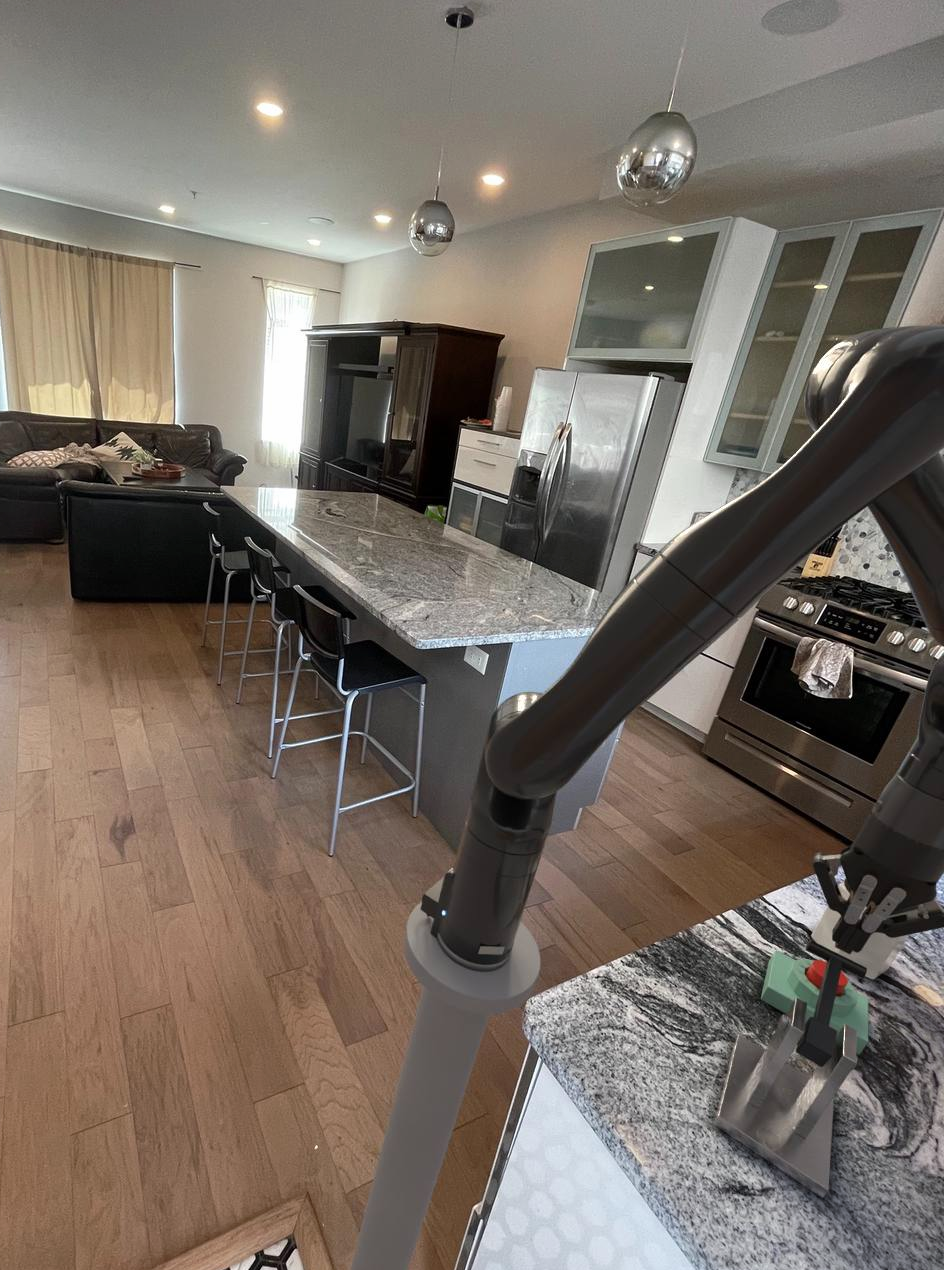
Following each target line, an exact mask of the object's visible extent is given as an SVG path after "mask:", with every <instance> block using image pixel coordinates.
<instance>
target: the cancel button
mask: <svg viewBox="0 0 944 1270" xmlns="http://www.w3.org/2000/svg"><path fill="white" fill-rule="evenodd" d="M826 963H827V961H826V960H822V959H816V960H814V961H813V963H812V964H811V966H810V968H809V970H808V971H807V974H806V975H807V978H808V980H809V981H810V982H811V983H812V984H813V985H814V986H815V987H817V988H818V989H819V990H820V988H821V984H822V979H823V975H824V971H825V967H826ZM848 981H849V980H848V977H847V976H846V974H845V973H844V972H843V971H842V970H841V974H840V978H839V983H838V987H837V992H836V996H839V995H841V993H842V992H843V990H844V988H845V987H846V985H847V983H848Z"/></svg>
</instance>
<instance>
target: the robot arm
mask: <svg viewBox="0 0 944 1270" xmlns="http://www.w3.org/2000/svg"><path fill="white" fill-rule="evenodd" d="M803 398H804V401H803V402H804V403H803V406H804V410H805V411H804V412H805V415H806V417H805V418H806V420H807V422H808V424H809V426H810V428H811V429H812V431H813V432H814V433H813V434H812V435H811V436H810V437H809V438H808V439H807V440H806V442H805V443H804V444H803V445H801V447H800V448H798V450H797V451H796V452H794V454H793V455H792V456H791V457H790V458H789V459H788V460H786V461H785V463H784V464H782V465H781V466H780V467H779V468H778V469H777V470H775V471H774V472H772V473H771V474H770V475H769V476H768V477H766V478H765V479H763V480H762V481H760V482H759V483H758V484H757V485H755V486H753V487H752V488H750V489H749V490H747V491H745V492H744V493H742V494H740V495H738V496H737V497H735V498H733V499H732V500H730V501H729V502H727V503H725V504H723V505H722V506H720V507H718V508H717V509H715V510H713V511H711V512H710V513H708V514H706V515H704V516H703V517H701V518H700V519H698V520H697V521H694V522H693V523H692V524H690V525H689V526H687V527H685V528H684V529H683V530H681V531H680V532H679V533H678V534H675V536H673V538H671V539H670V540H669V541H667V543H666V544H664V545H663V546H662V547H661V549H659V551H658V552H657V553H656V554H654V556H653V557H651V559H650V560H649V561H648V562H647V563H646V564H645V565H644V566H643V567H642V568H641V569H640V570H639V571H638V572H637V573H636V574H635V575H634V576H633V577H632V578H631V579H630V580H629V581H628V582H627V584H626V585H624V588H622V589H621V590H620V592H619V593H618V595H616V596H615V598H614V599H613V601H612V602H611V604H610V605H609V606H608V608H607V609H606V611H605V612H604V614H603V615H602V617H601V618H600V619H599V622H598V623H597V625H596V626H595V627H594V629H593V631H592V632H591V634H590V636H589V637H588V638H587V640H586V641H585V644H584V645H583V646H582V648H581V650H580V651H579V652H578V655H577V656H576V657H575V659H574V660H573V661H572V663H571V664H570V665H569V667H567V669H566V670H565V671H564V672H563V674H562V675H561V676H560V677H558V679H557V680H556V681H555V682H554V683H553V684H552V685H551V686H549V687H548V688H547V689H546V690H545V691H544V692H539V691H538V692H537V691H523V692H519V693H516V694H514V695H511V696H510V697H508V698H506V699H505V700H503V701H502V702H501V703H500V704H499V705H498V706H497V708H496V709H495V711H494V712H493V713H492V715H491V718H490V721H489V724H488V727H487V731H486V736H485V740H484V743H483V747H482V751H481V755H480V760H479V763H478V767H477V771H476V776H475V779H474V782H473V787H472V791H471V794H470V799H469V803H468V807H467V813H466V817H465V821H464V825H463V829H462V832H461V836H460V840H459V844H458V848H457V852H456V856H455V859H454V863H453V866H452V867H451V868H450V869H448V870H447V871H446V872H445V874H444V875H443V876H442V877H441V878H439V880H438V881H436V883H434V884H433V886H431V887H430V888H429V889H428V890H427V891H426V892H425V893H423V895H422V897H421V902H422V905H421V909H420V910H422V911H423V912H425V913H426V914H427V917H430V916H431V917H432V918H434V920H433V924H432V928H431V932H430V933H431V935H433V936H434V937H435V938H437V941H438V944H439V946H440V947H441V949H442V950H443V952H444V953H445V954H446V955H447V956H448V957H449V958H450V959H451V960H453V961H454V962H455V963H457V964H459V965H460V966H462V967H465V968H467V969H470V970H474V971H480V972H489V971H495V970H498V969H500V968H501V967H503V966H504V965H505V964H506V963H507V962H508V960H509V958H510V955H511V952H512V947H513V944H514V940H515V937H516V934H517V931H518V928H519V924H520V921H521V922H522V918H523V915H524V911H525V908H526V906H527V903H528V899H529V897H530V893H531V890H532V887H533V884H534V881H535V877H536V874H537V871H538V868H539V865H540V861H541V858H542V855H543V852H544V849H545V846H546V843H547V840H548V837H549V835H550V831H551V827H552V821H553V816H554V810H555V809H554V808H555V805H556V799H557V794H558V791H559V790H561V789H563V788H564V787H565V786H566V785H567V784H568V783H569V782H571V780H572V779H573V778H574V777H575V776H576V774H577V773H579V771H580V770H581V769H582V768H583V767H584V766H585V764H587V762H588V761H589V760H590V758H592V756H593V755H594V754H595V753H596V752H597V750H599V749H600V747H601V746H602V745H603V744H604V743H605V742H606V740H607V739H609V737H610V736H611V735H612V734H613V733H614V732H615V730H617V729H618V728H619V727H620V725H622V723H624V722H625V721H626V720H627V719H628V717H630V716H631V715H632V714H633V713H634V712H636V710H638V709H639V708H640V707H641V706H642V705H643V704H645V703H646V702H647V701H648V700H650V699H651V698H652V697H653V696H654V695H656V694H657V693H658V692H659V691H660V690H661V689H662V688H663V687H664V686H666V685H667V684H668V683H669V682H670V681H671V680H672V679H674V677H676V676H677V675H678V674H679V673H680V672H681V671H682V670H684V669H685V668H686V667H687V666H688V665H689V664H690V663H691V662H692V661H694V660H695V659H696V658H697V657H699V656H700V655H701V654H702V653H703V652H705V651H706V650H707V649H709V647H711V646H712V644H714V643H715V642H716V641H717V640H718V639H719V638H721V637H722V636H723V635H724V634H725V633H726V632H727V631H728V630H729V629H731V628H732V627H733V626H734V625H735V624H736V623H737V622H739V620H740V619H741V618H743V617H744V615H746V614H747V613H748V612H749V611H750V610H751V609H752V608H753V607H754V606H755V605H756V604H757V603H758V602H759V601H760V600H761V599H762V598H763V597H765V595H766V594H767V593H768V592H770V591H771V590H772V589H773V588H774V587H775V586H777V584H778V583H780V582H781V581H782V580H783V579H784V578H785V577H787V576H788V575H790V573H791V572H792V571H793V570H795V569H797V567H798V566H799V565H801V564H802V562H804V561H805V560H806V559H807V558H808V557H809V556H810V555H811V554H813V553H814V552H815V551H816V550H817V549H818V548H819V547H821V545H823V544H824V542H826V541H827V540H828V539H830V538H831V536H833V535H834V534H836V532H837V531H838V530H840V529H841V528H842V527H843V526H844V525H846V524H847V523H848V522H849V521H851V519H853V518H854V517H856V516H857V515H859V514H860V513H861V512H862V511H863V510H864V509H866V508H868V510H869V512H870V513H871V515H872V517H873V518H874V520H875V522H876V524H877V525H878V527H879V529H880V531H881V532H882V534H883V536H884V538H885V540H886V542H887V544H888V545H889V547H890V549H891V551H892V553H893V555H894V557H895V559H896V561H897V564H898V565H899V568H900V569H901V572H902V575H903V577H904V579H905V581H906V583H907V586H908V588H909V590H910V593H911V595H912V597H913V599H914V602H915V604H916V607H917V608H918V611H919V613H920V615H921V618H922V620H923V622H924V624H925V627H926V628H927V630H928V632H929V634H930V635H931V636H932V638H933V639H934V640H935V641H936V642H937V643H938V644H939V645H941V646H942V647H944V458H943V456H942V454H941V453H940V452H941V451H942V450H944V324H925V325H908V326H907V325H906V326H892V327H884V328H877V329H871V330H866V331H863V332H860V333H857V334H853V335H851V336H849V337H847V338H845V339H844V340H841V341H840V342H838V343H837V344H835V345H834V346H833V347H832V348H830V349H829V350H828V351H827V352H826V353H825V354H824V356H823V357H821V359H820V360H819V361H818V363H817V364H816V365H815V367H814V369H812V371H811V374H810V376H809V377H808V380H807V383H806V387H805V392H804V397H803ZM927 678H928V679H927V683H926V685H925V691H924V696H923V701H922V706H921V711H920V715H919V721H918V728H917V729H918V730H917V735H916V738H915V740H914V742H913V744H912V745H911V746H910V748H909V750H908V753H907V754H906V756H905V757H904V759H903V761H902V763H901V765H900V766H899V767H898V770H897V771H896V773H895V774H894V775H893V776H892V778H891V780H889V782H888V783H887V784H886V785H885V787H884V788H883V790H882V792H881V793H880V795H879V797H878V799H877V800H876V802H875V804H874V806H873V807H872V809H871V811H870V812H869V814H868V815H867V818H866V819H865V821H864V822H863V825H862V826H861V828H860V830H859V832H858V834H857V835H856V837H855V838H854V841H853V842H852V843H851V844H849V846H847V847H845V848H843V849H842V850H841V852H840V854H828V855H826V854H825V853H824V852H821V851H819V852H816V853H815V854H814V855H813V863H812V867H813V870H814V873H815V875H816V878H817V880H818V883H819V885H820V888H821V891H822V894H823V896H824V899H825V901H826V904H827V906H828V907H829V908H830V909H831V910H833V911H837V912H838V913H839V914H840V915H841V916H840V918H839V920H838V921H837V923H836V925H835V927H834V928H833V931H832V941H834V942H835V947H836V948H838V949H840V950H842V951H844V952H846V953H848V954H851V953H852V951H854V952H856V953H858V952H860V951H861V950H862V949H863V947H864V945H865V944H866V942H867V941H868V939H869V937H870V936H871V934H873V933H883V934H885V935H886V936H888V937H890V938H896V937H901V936H905V935H910V936H911V935H913V934H914V935H915V934H919V933H923V932H924V933H925V932H929V931H934V930H938V929H939V930H940V929H943V928H944V905H943V904H941V903H940V902H939V901H938V899H937V898H936V897H937V896H938V895H937V894H938V892H937V885H938V883H939V881H940V879H941V878H942V876H943V875H944V652H943V653H942V654H941V655H940V656H939V658H937V660H936V662H935V663H934V665H933V667H932V668H931V670H930V673H929V675H928V677H927ZM840 867H841V868H842V871H843V874H844V878H845V879H846V880H847V883H848V886H849V888H850V889H851V892H850V895H849V898H848V900H845V899H844V898H843V897H842V895H841V892H840V890H839V887H838V886H839V884H838V882H837V880H836V877H835V876H837V875H838V874H839V868H840ZM868 900H869V901H871V903H870V904H869V906H868V907H867V908H866V909H865V911H864V912H863V913H862V911H863V910H864V908H865V906H866V904H867V902H868ZM919 904H921V905H919ZM915 905H919V906H918V909H917V910H913V911H908V912H904V913H899V914H895V915H891V916H889V915H890V914H891V913H892V912H893V910H900V909H904V908H908V907H911V906H915ZM861 913H862V917H861V919H859V917H860V915H861Z"/></svg>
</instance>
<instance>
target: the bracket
mask: <svg viewBox="0 0 944 1270" xmlns="http://www.w3.org/2000/svg"><path fill="white" fill-rule="evenodd" d="M806 1012H807V1003H806V1002H804V1001H802V1000H800V999H799V998H797V997H796V998H795V1000H794V1001H793V1003H792V1005H791V1007H790V1008H789V1010H788V1012H787V1014H785V1013H783V1014H782V1015H781V1016H780V1018H779V1020H778V1023H777V1029H776V1031H775V1033H774V1034H773V1036H772V1038H771V1039H770V1042H769V1043H768V1045H767V1046H766V1049H765V1048H762V1047H761V1046H759V1045H758V1044H756V1043H754V1042H753V1041H751V1040H750V1039H748V1038H746V1037H745V1036H743V1035H741V1034H739V1033H738V1034H737V1036H736V1038H735V1040H734V1042H733V1046H732V1050H731V1054H730V1058H729V1061H728V1066H727V1070H726V1074H725V1077H724V1078H725V1079H724V1083H723V1087H722V1090H721V1094H720V1098H719V1102H718V1105H717V1106H718V1107H717V1109H716V1113H715V1114H716V1115H715V1118H714V1122H713V1125H714V1126H715V1127H717V1128H718V1129H720V1130H721V1131H723V1132H724V1133H726V1134H727V1135H729V1136H730V1137H731V1138H733V1139H734V1140H736V1141H738V1142H739V1143H741V1144H742V1145H743V1146H745V1147H746V1148H748V1149H749V1150H751V1151H752V1152H754V1153H755V1154H757V1155H758V1156H759V1157H761V1158H763V1159H764V1160H766V1161H767V1162H768V1163H770V1164H771V1165H773V1166H774V1167H776V1168H777V1169H778V1170H780V1171H782V1172H783V1173H785V1175H787V1176H789V1177H790V1178H792V1179H793V1180H795V1181H796V1182H798V1183H800V1184H801V1185H802V1186H804V1187H806V1188H807V1189H808V1190H809V1191H811V1192H812V1193H814V1194H815V1195H816V1196H818V1197H820V1198H821V1199H824V1197H825V1196H826V1195H827V1193H828V1192H829V1189H830V1188H829V1187H830V1172H831V1171H830V1170H831V1155H832V1153H831V1152H832V1138H833V1121H834V1120H833V1119H834V1102H835V1095H836V1094H837V1092H838V1091H839V1090H840V1088H841V1086H843V1083H844V1082H845V1081H846V1079H847V1078H848V1076H849V1074H851V1071H854V1069H855V1068H856V1066H857V1064H858V1060H859V1057H858V1054H857V1053H856V1045H857V1030H855V1029H853V1028H852V1027H850V1026H848V1025H846V1024H844V1026H843V1027H842V1029H841V1030H840V1032H839V1033H838V1035H837V1037H836V1041H835V1046H834V1051H833V1056H832V1057H831V1058H830V1060H829V1061H828V1062H827V1063H826V1064H825V1065H824V1066H823V1067H820V1066H819V1065H817V1067H816V1069H815V1070H814V1072H813V1073H812V1075H811V1076H810V1075H808V1074H806V1073H805V1072H803V1071H802V1070H800V1069H798V1068H796V1067H795V1066H793V1065H791V1064H789V1063H788V1061H789V1059H790V1057H791V1055H792V1054H793V1052H794V1051H795V1050H796V1048H797V1044H798V1042H799V1040H800V1039H801V1037H802V1035H803V1034H804V1028H805V1020H806Z"/></svg>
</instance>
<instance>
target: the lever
mask: <svg viewBox="0 0 944 1270" xmlns="http://www.w3.org/2000/svg"><path fill="white" fill-rule="evenodd" d="M805 951H806V952H808V953H810V954H812V955H814V956H816V957H817V958H820V959H821V960H823V961H825V962H827V963H826V967H825V971H824V975H823V979H822V984H821V988H820V992H819V996H818V1000H817V1004H816V1008H815V1012H814V1017H810V1018H809V1019H808V1020H807V1021H806V1023H805V1028H804V1034H803V1035H802V1037H801V1039H800V1040H799V1042H798V1044H797V1045H796V1047H795V1053H796V1054H797V1055H800V1056H802V1057H803V1058H805V1059H806V1060H808V1061H810V1062H812V1063H813V1064H815V1065H817V1066H818V1065H819V1066H820V1067H823V1066H824V1065H825V1064H826V1063H827V1062H828V1061H829V1060H830V1058H831V1057H832V1056H833V1051H834V1046H835V1041H836V1037H837V1030H835V1029H833V1028H831V1027H829V1023H830V1019H831V1014H832V1010H833V1005H834V1001H835V996H836V992H837V987H838V983H839V978H840V974H841V971H842V970H843V971H845V972H847V973H849V974H852V975H853V976H855V977H857V978H860V979H861V980H862V979H865V978H866V977H865V975H866V972H867V968H866V967H864V966H862V965H860V964H858V963H856V962H854V961H852V960H850V959H848V958H846V957H844V956H842V955H840V954H838V953H836V952H834V951H832V950H830V949H828V948H826V947H824V946H822V945H820V944H818V943H816V942H815V941H814V940H813V939H809V940H808V941H807V944H806V945H805Z"/></svg>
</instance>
